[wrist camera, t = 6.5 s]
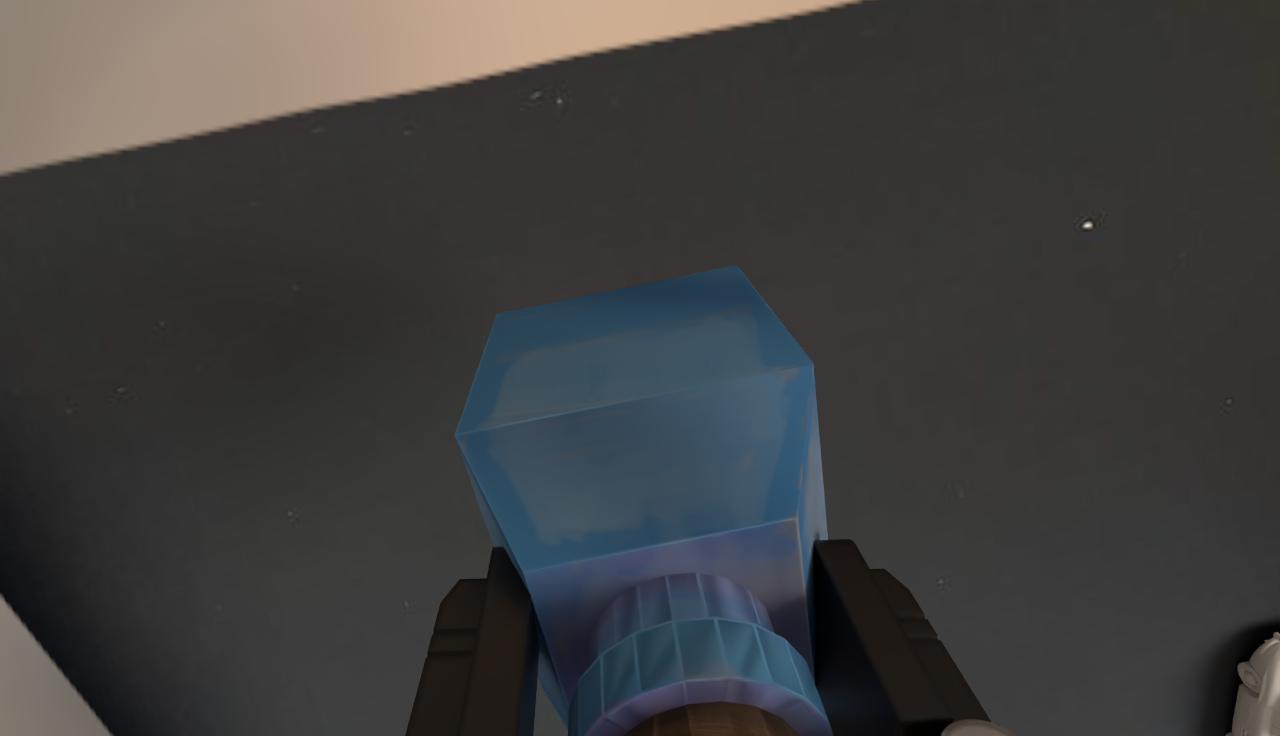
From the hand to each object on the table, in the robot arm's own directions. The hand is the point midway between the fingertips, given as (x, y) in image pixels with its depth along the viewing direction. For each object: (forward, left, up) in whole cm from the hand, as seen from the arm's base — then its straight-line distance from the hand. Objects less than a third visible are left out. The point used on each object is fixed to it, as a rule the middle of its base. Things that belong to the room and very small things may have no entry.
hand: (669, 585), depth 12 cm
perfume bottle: (0, 0, -8) cm, 8 cm away
